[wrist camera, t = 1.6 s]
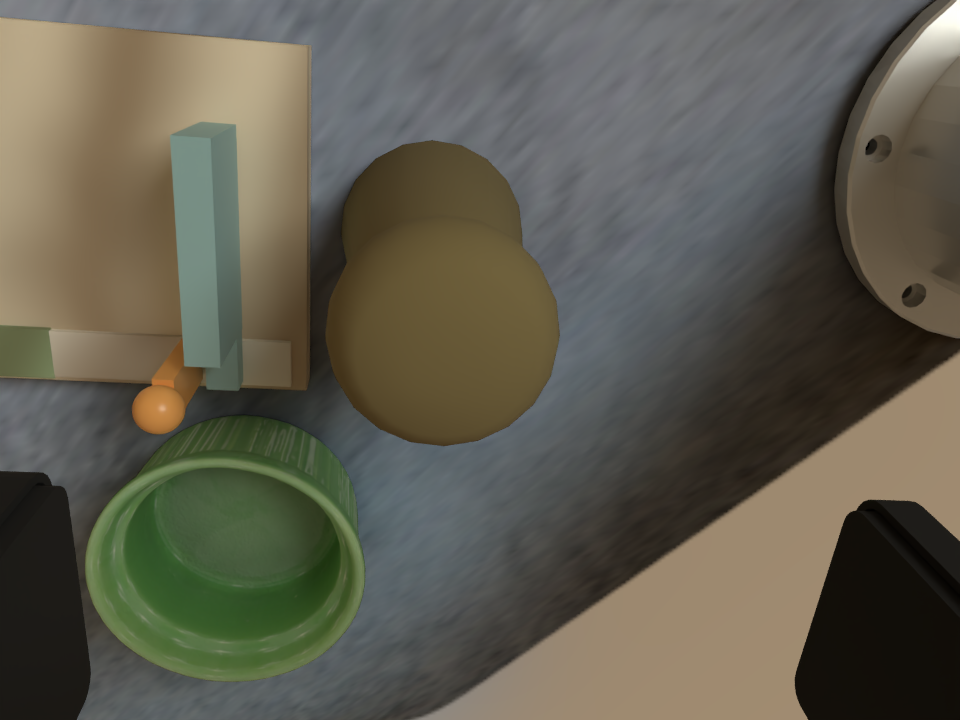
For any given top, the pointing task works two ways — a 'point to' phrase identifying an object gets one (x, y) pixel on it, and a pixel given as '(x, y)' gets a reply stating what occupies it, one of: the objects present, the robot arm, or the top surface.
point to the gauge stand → (144, 197)
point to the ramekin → (230, 552)
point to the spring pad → (209, 250)
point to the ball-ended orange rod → (167, 394)
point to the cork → (439, 299)
